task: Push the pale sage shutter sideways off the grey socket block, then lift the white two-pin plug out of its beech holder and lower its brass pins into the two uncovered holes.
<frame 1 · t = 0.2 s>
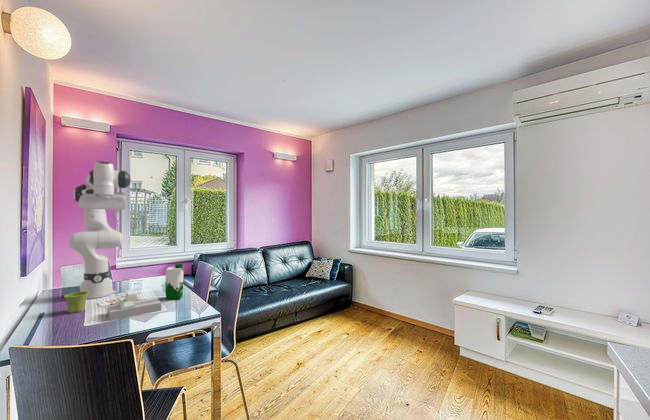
hand: (103, 217, 149), 47 cm above the table, tool pointing down, fingers open, 8 cm apart
shutter: (126, 301, 140), point 6 cm above the table, slide at 0.0 cm
milk carton: (174, 298, 166), on the table
plug: (130, 304, 153), touching holder
socket: (126, 313, 140), on the table
plant pot: (76, 311, 144), on the table
holder: (130, 305, 153), on the table
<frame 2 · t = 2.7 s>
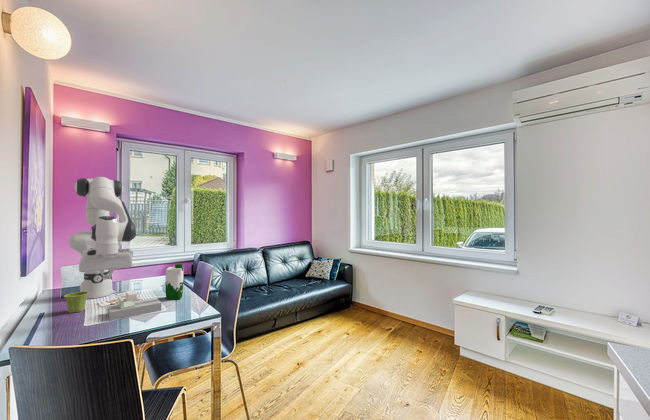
hand: (106, 279, 135), 18 cm above the table, tool pointing down, fingers closed
nothing on the table moved.
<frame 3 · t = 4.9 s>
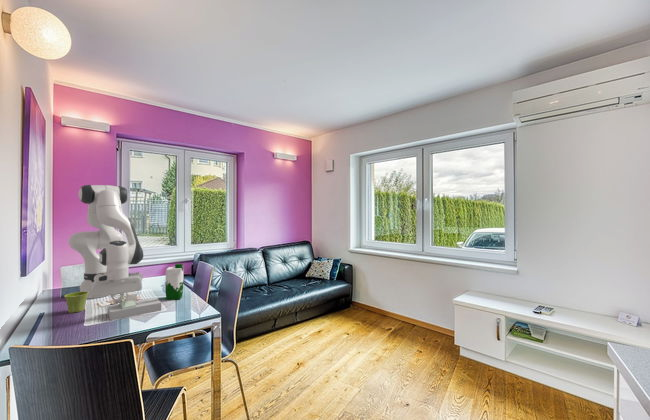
hand: (117, 303, 138), 6 cm above the table, tool pointing down, fingers closed
shutter: (127, 301, 141), point 6 cm above the table, slide at 0.5 cm, touching gripper
everything else where it was.
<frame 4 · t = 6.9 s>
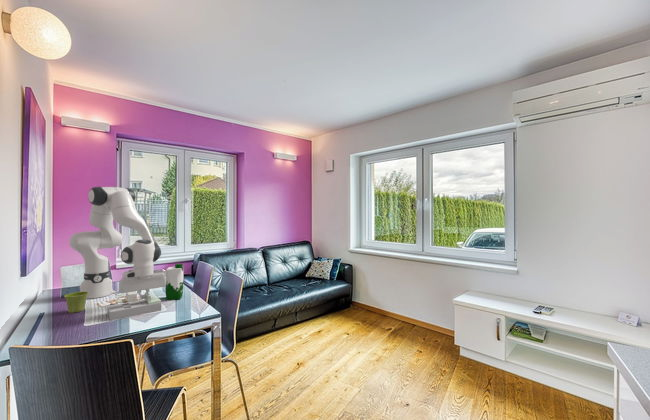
hand: (143, 298, 145), 6 cm above the table, tool pointing down, fingers closed
shutter: (152, 297, 148), point 6 cm above the table, slide at 11.4 cm, touching gripper
everything else where it was.
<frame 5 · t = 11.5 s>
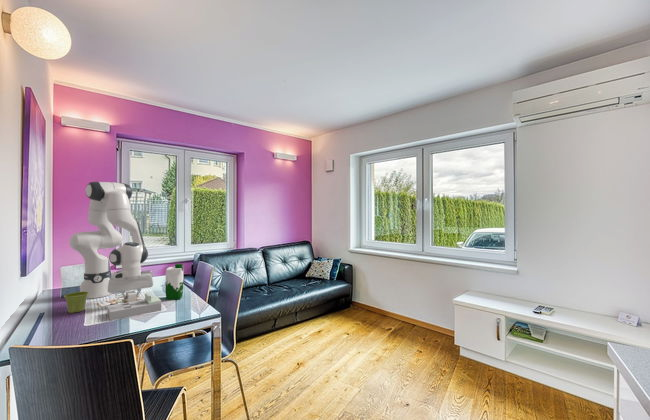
hand: (131, 298, 153), 4 cm above the table, tool pointing down, fingers closed on plug, 4 cm apart
shutter: (152, 297, 148), point 6 cm above the table, slide at 11.5 cm
plug: (130, 304, 153), touching gripper, holder
everything else where it was.
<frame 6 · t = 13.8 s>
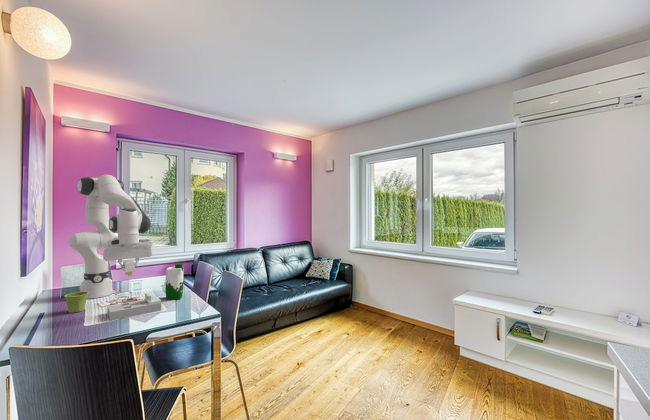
hand: (128, 267, 142), 22 cm above the table, tool pointing down, fingers closed on plug, 4 cm apart
plug: (128, 274, 142), point 19 cm above the table, touching gripper
everything else where it was.
when the fingers open (6 cm above the table, at t = 16.6 s): plug stays where it is, resting on socket.
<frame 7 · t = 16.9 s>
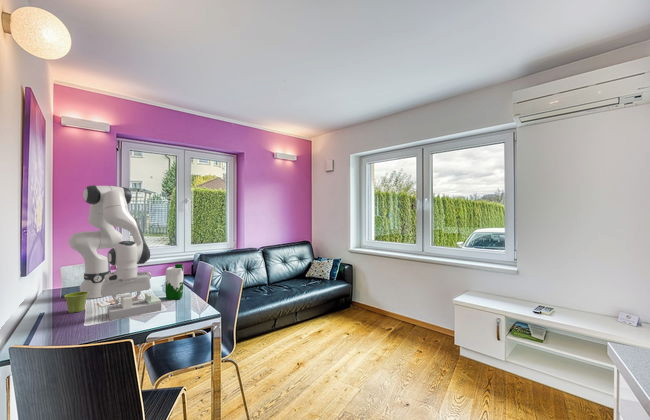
hand: (126, 301, 140), 6 cm above the table, tool pointing down, fingers open, 6 cm apart
plug: (126, 310, 140), point 2 cm above the table, touching socket
everything else where it was.
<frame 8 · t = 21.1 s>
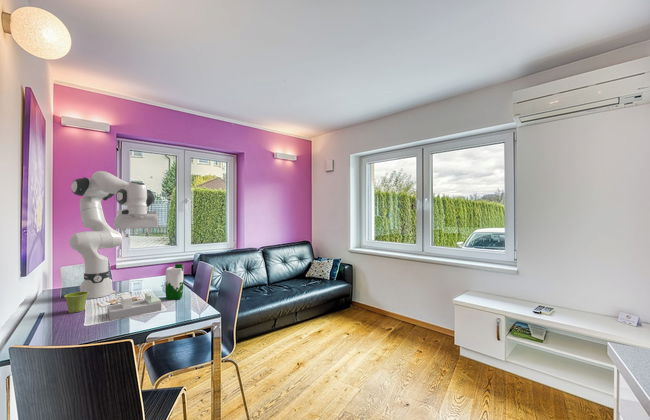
hand: (136, 236, 154), 37 cm above the table, tool pointing down, fingers open, 8 cm apart
nothing on the table moved.
at the end: shutter slide at 11.5 cm; plug 0.1 cm off-centre on the socket, point 1.8 cm above the socket's base; the gripper is holding nothing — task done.
